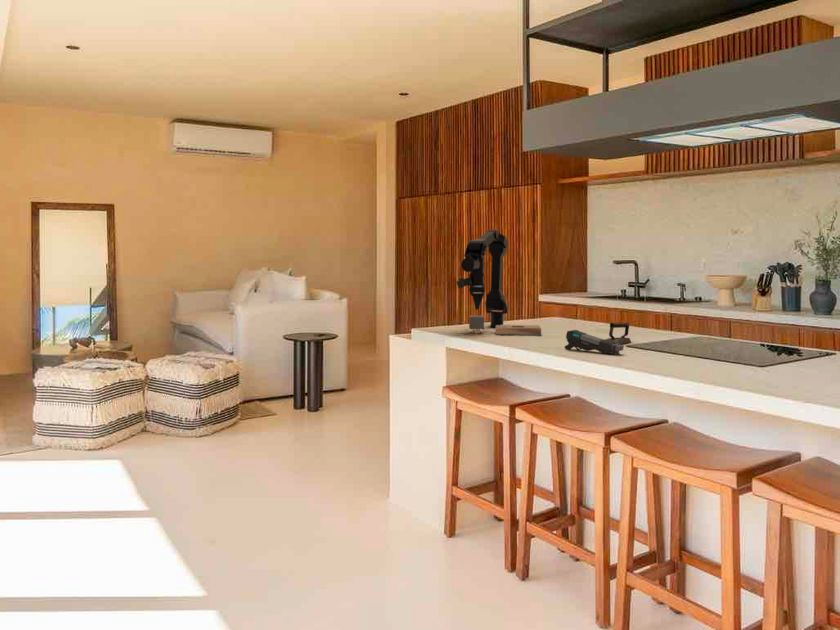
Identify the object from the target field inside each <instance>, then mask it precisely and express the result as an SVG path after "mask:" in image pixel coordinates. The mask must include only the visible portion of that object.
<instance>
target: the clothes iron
mask: <svg viewBox="0 0 840 630" xmlns="http://www.w3.org/2000/svg"><path fill="white" fill-rule="evenodd" d="M616 328H617V329H618V328H619V329H620V328H625V329H624V334H623V335H621V336H620V337H615V336H614V335H613V333H614V329H616ZM629 328H630V323H629V322H627V321H626V322H610V323H609V333H608V335H609V337H608V338H605V339H606V340H609V341H613V342H616V343H617V344H620V345H623V346H625V345H629V344H631V343H632V341H631V338H630V337H627V336H628V335H629V331H630V329H629Z"/></svg>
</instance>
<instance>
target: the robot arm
mask: <svg viewBox="0 0 840 630" xmlns="http://www.w3.org/2000/svg"><path fill="white" fill-rule="evenodd" d="M508 247H509V241H508V239H507V237H506V236H505V235H503V234H502V233H500V232H499V230H497V229H489V230H488V229H487V230H486V231H485V232H484V234H482V235H481V236H479V237H478V238H477V239H471V240H469V241H468V243H467V244H466V249H465V251H464V255H463V256H464V257H465V258H464V259H462V260H461V262H460V266H461V269H462V270H463V271H464V272H465V273H469V274H468V276H467V277H465V278H464V277H460V278H458V280H457V281H455V282H456V285H457V286H456V287H457V288H458V289H462V288H463V287H466V286H468V287H469V288H468V293H469V295H470V296H471V297H472V298H473V304H474V309H475V310H479V308H480V305H481V303H482V300H483V299H484V295H485V279H484V278H485V269H484V268H485V255H486V252H487V251H488V253H489V254H490V256H491V272H490V273H491V275H490V276H491V278H490V291H489V292H488V293H486V300H485V302H484V303H485V311H486V314H490V324H489V328H496V325H504V314H509V313H508V312H509V307H508V305H507V301H506V297H505V294H504V292H503V291H502V283H503V282H502V281H503V278H502V277H503V263H504V262H503V261H504V260H503V259H504V257H505V255H506V253H507V252H508Z"/></svg>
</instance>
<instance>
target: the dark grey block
mask: <svg viewBox="0 0 840 630" xmlns="http://www.w3.org/2000/svg"><path fill="white" fill-rule="evenodd" d="M468 317H469V319H468V320H469V321H468V322H469V323H468V324H469V325H468V328H469V330H472V331H473V332H472V333H473V334H480V333H481V330H484V329H485V315H469V316H468Z"/></svg>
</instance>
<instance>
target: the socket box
mask: <svg viewBox="0 0 840 630" xmlns="http://www.w3.org/2000/svg"><path fill="white" fill-rule="evenodd" d="M496 335H501V336H509V337H510V336H511V337H512V336H514V337H517V336H518V337H519V336H520V337H521V336H522V337H542V327H541V326H540V325H536V324H533V325H532V324H531V325H530V324H529V325H527V324H526V325H525V324H524V325H523V324H521V325H520V324H517V325H516V324H514V325H513V324H511V325H510V324H503V325H496V327H495V336H496ZM501 336H500V337H501Z"/></svg>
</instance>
